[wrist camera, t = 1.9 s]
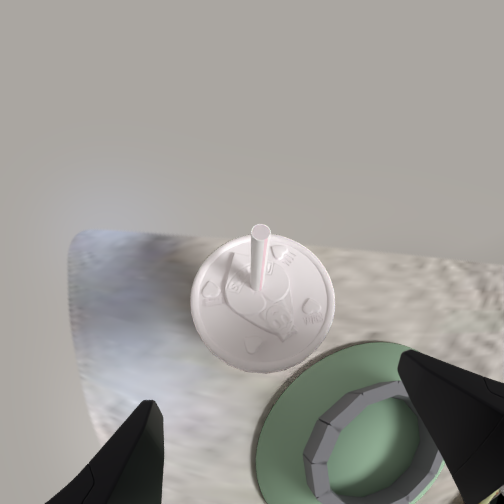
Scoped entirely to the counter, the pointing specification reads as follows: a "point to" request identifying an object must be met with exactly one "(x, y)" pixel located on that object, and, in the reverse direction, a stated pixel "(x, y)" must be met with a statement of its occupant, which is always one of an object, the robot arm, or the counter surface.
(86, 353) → the counter surface
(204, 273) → the smoothie
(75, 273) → the counter surface
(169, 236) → the counter surface
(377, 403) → the putting green cup
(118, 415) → the counter surface
